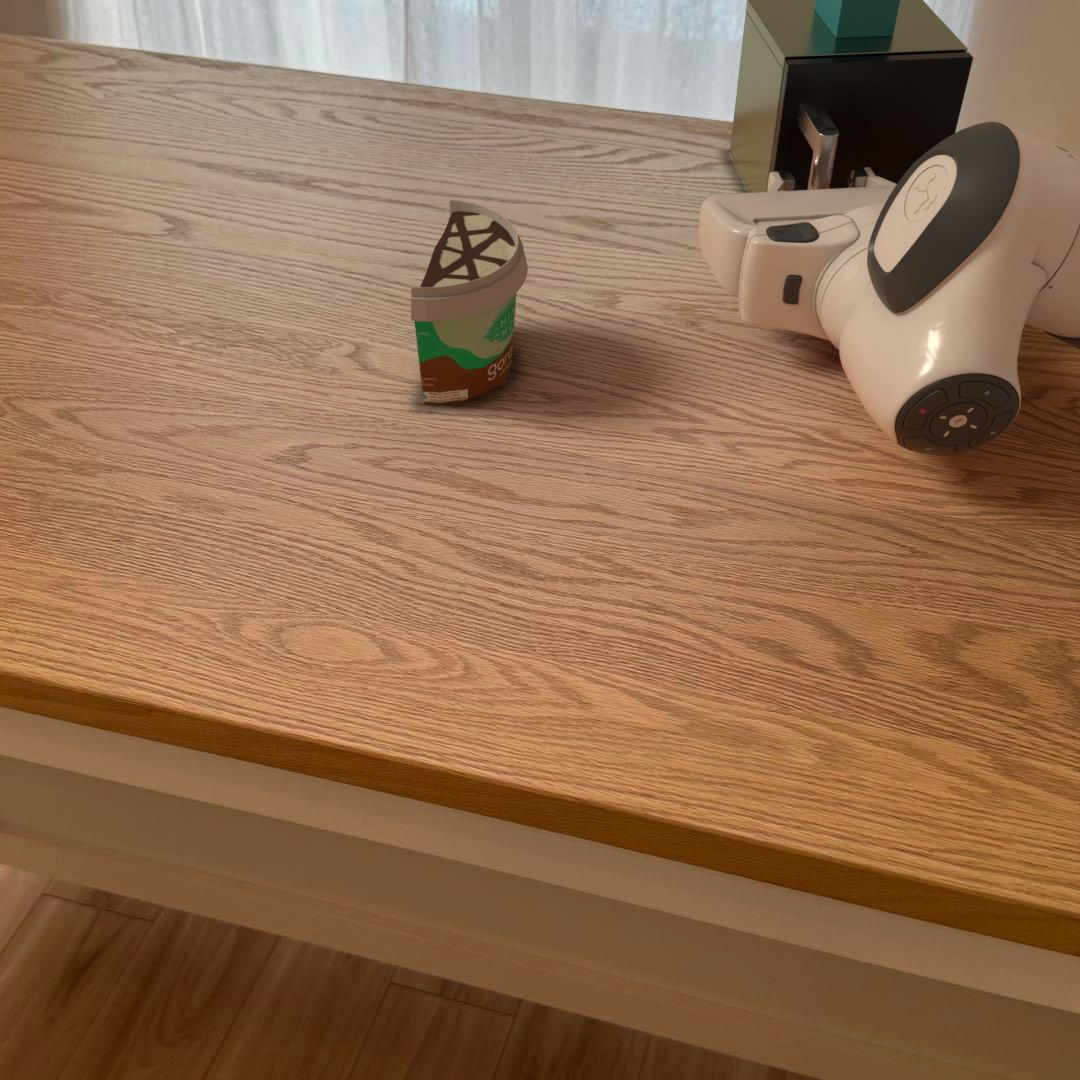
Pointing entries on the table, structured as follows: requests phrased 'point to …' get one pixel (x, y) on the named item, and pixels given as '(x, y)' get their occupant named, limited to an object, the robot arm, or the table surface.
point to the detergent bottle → (858, 17)
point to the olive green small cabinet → (799, 33)
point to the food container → (468, 306)
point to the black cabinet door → (865, 114)
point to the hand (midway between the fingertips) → (817, 178)
